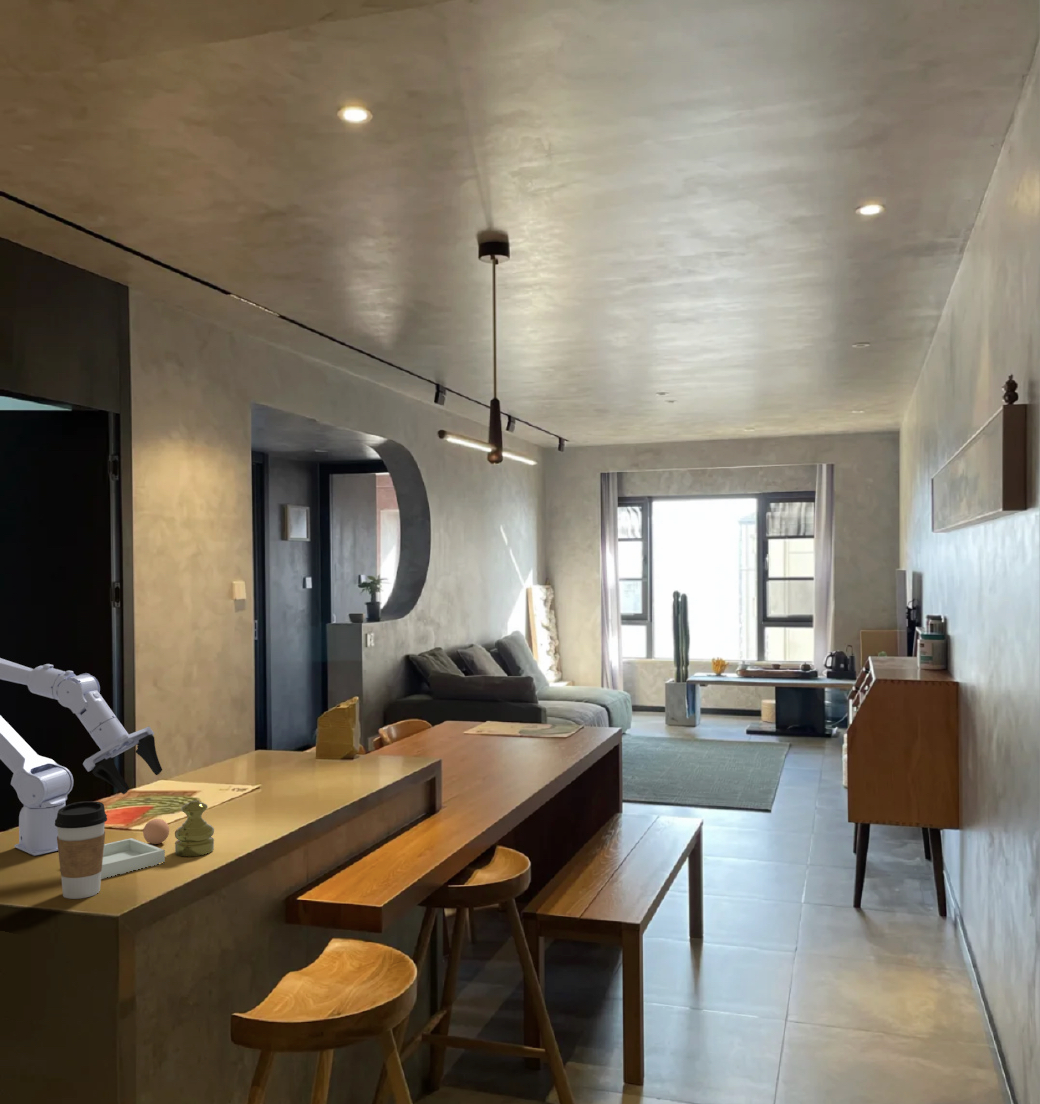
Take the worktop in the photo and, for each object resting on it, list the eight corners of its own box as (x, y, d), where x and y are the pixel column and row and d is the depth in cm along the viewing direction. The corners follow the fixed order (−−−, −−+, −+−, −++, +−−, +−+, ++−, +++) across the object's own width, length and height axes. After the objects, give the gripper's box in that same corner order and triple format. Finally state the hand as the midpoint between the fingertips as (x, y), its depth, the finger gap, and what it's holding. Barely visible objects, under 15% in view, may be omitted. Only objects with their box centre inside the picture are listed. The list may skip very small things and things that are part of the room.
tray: (68, 865, 191) (68, 852, 191) (131, 850, 200) (131, 838, 200) (100, 879, 183) (100, 865, 183) (164, 863, 192) (164, 849, 192)
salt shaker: (172, 858, 195) (172, 806, 195) (177, 847, 202) (177, 797, 202) (212, 856, 196) (211, 804, 197) (215, 845, 204) (215, 795, 204)
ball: (138, 844, 205) (138, 819, 205) (161, 838, 209) (161, 814, 209) (151, 848, 202) (151, 823, 202) (174, 843, 205) (174, 818, 205)
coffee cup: (115, 884, 180) (114, 800, 180) (96, 901, 171) (96, 812, 171) (67, 885, 179) (66, 801, 179) (46, 902, 171) (45, 813, 171)
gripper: (76, 734, 191) (117, 791, 189) (141, 701, 203) (180, 755, 201) (66, 750, 196) (106, 806, 194) (130, 717, 207) (168, 770, 205)
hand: (143, 782), depth 198 cm, fingers open, 7 cm apart
